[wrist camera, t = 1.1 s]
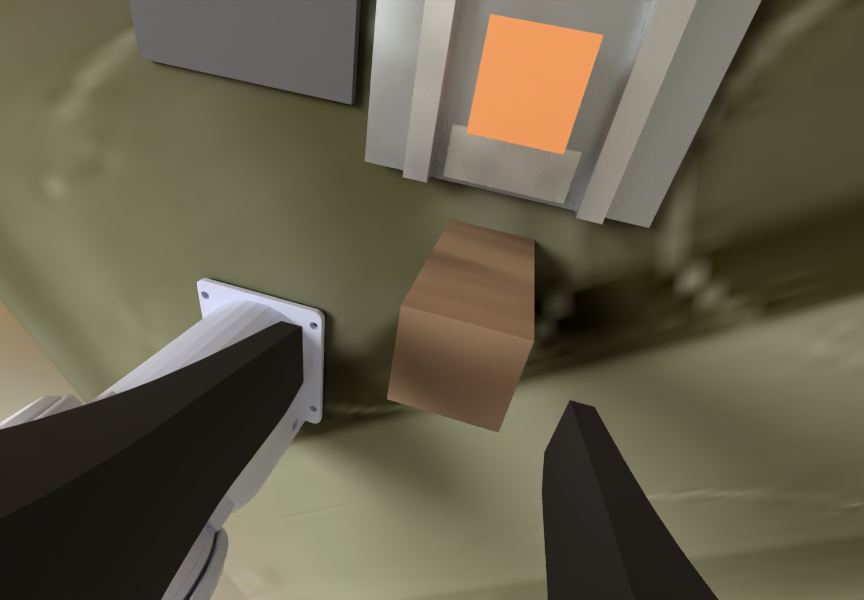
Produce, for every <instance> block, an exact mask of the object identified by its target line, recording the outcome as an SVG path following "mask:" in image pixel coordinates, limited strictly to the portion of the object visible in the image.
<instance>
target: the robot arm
mask: <svg viewBox="0 0 864 600" xmlns="http://www.w3.org/2000/svg"><path fill="white" fill-rule="evenodd" d="M197 288H198V294H199V299H200V305H201V310H202V316H203V319H202V320H201V321H199V322H198V323H196V324H195V325H194V326H192V327H191V328H190V329H188V330H187V331H186V332H184V333H183V334H182V335H180V336H179V337H178V338H176V339H175V340H174V341H172V342H171V343H169V344H168V345H167V346H165V347H164V348H163V349H161V350H160V351H159V352H157V353H156V354H155V355H153V356H152V357H151V358H149V359H148V360H147V361H145V362H144V363H142V364H141V365H140V366H138V367H137V368H136V369H134V370H133V371H132V372H130V373H129V374H128V375H126V376H125V377H124V378H122V379H121V380H119V381H118V382H117V383H115V384H114V385H113V386H111V387H110V388H109V389H107V390H106V391H105V392H103V393H102V394H101V395H99V396H98V397H97V398H95V399H93V400H91V401H89V402H87V403H85V404H83V405H82V406H81V404H82V402H81V401H80V400H78V399H77V398H76V397H75V396H74V395H71V394H68V395H65V396H62V397H60V396H43V397H41V398H39V399H38V400H36V401H34V402H33V403H31V404H29V405H28V406H26V407H25V408H23V409H21V410H20V411H18V412H17V413H15V414H14V415H12V416H10V417H9V418H7V419H6V420H4V421H3V422H1V423H0V600H210V598H211V595H212V594H213V592H214V590H215V588H216V586H217V584H218V581H219V579H220V576H221V573H222V570H223V566H224V562H225V559H226V555H227V550H228V536H227V533H226V531H225V530H224V529H223V528H222V525H223V524H224V522H225V521H226V519H227V518H228V516H229V515H230V514H231V513H233V512H235V511H236V510H238V509H240V508H241V507H243V506H244V505H245V504H246V503H247V502H249V501H250V500H251V499H252V498H253V497H254V496H255V495H256V494H257V492H258V491H259V490H260V488H261V487H262V485H263V484H264V482H265V481H266V479H267V478H268V476H269V475H270V473H271V472H272V470H273V469H274V467H275V466H276V464H277V463H278V461H279V460H280V458H281V457H282V455H283V454H284V452H285V451H286V449H287V448H288V446H289V444H290V443H291V441H292V440H293V438H294V437H295V435H296V434H297V432H298V431H299V429H300V428H301V426H302V425H303V423H304V422H305V421H308V422H311V423H319V422H320V421H321V419H322V403H323V366H324V328H325V317H324V314H323V313H322V312H321V311H320V310H318V309H315V308H312V307H308V306H304V305H301V304H297V303H294V302H290V301H287V300H283V299H279V298H276V297H272V296H269V295H265V294H262V293H258V292H254V291H251V290H247V289H244V288H240V287H236V286H233V285H229V284H226V283H222V282H219V281H215V280H211V279H208V278H203V279H201V280H199V281H198V283H197ZM207 293H208V294H209V295H208V294H207ZM313 322H314V323H316V324H317V325H318V326H316V325H314V323H313ZM542 503H543V521H544V539H545V555H546V572H547V589H548V600H718V598H717V597H716V596H715V595H714V593H713V592H712V591H711V589H710V588H709V587H708V585H707V584H706V583H705V581H704V580H703V579H702V577H701V576H700V575H699V573H698V572H697V571H696V569H695V568H694V567H693V565H692V564H691V563H690V561H689V560H688V558H687V557H686V556H685V554H684V553H683V551H682V550H681V549H680V547H679V546H678V544H677V543H676V541H675V540H674V538H673V537H672V535H671V534H670V532H669V531H668V529H667V528H666V526H665V525H664V523H663V522H662V520H661V519H660V517H659V516H658V515H657V513H656V512H655V510H654V508H653V507H652V505H651V504H650V502H649V500H648V499H647V497H646V496H645V494H644V492H643V491H642V489H641V487H640V486H639V484H638V482H637V481H636V479H635V477H634V476H633V474H632V472H631V471H630V469H629V467H628V466H627V464H626V462H625V460H624V459H623V457H622V455H621V453H620V452H619V450H618V448H617V446H616V444H615V443H614V441H613V439H612V437H611V436H610V434H609V432H608V430H607V428H606V427H605V425H604V423H603V421H602V419H601V418H600V416H599V414H598V412H597V411H596V409H595V407H593V406H589V405H585V404H582V403H578V402H574V401H571V400H570V401H569V403H568V405H567V407H566V409H565V411H564V413H563V415H562V417H561V419H560V421H559V424H558V426H557V428H556V430H555V432H554V434H553V436H552V438H551V440H550V442H549V444H548V446H547V448H546V450H545V452H544V466H543V482H542Z"/></svg>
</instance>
